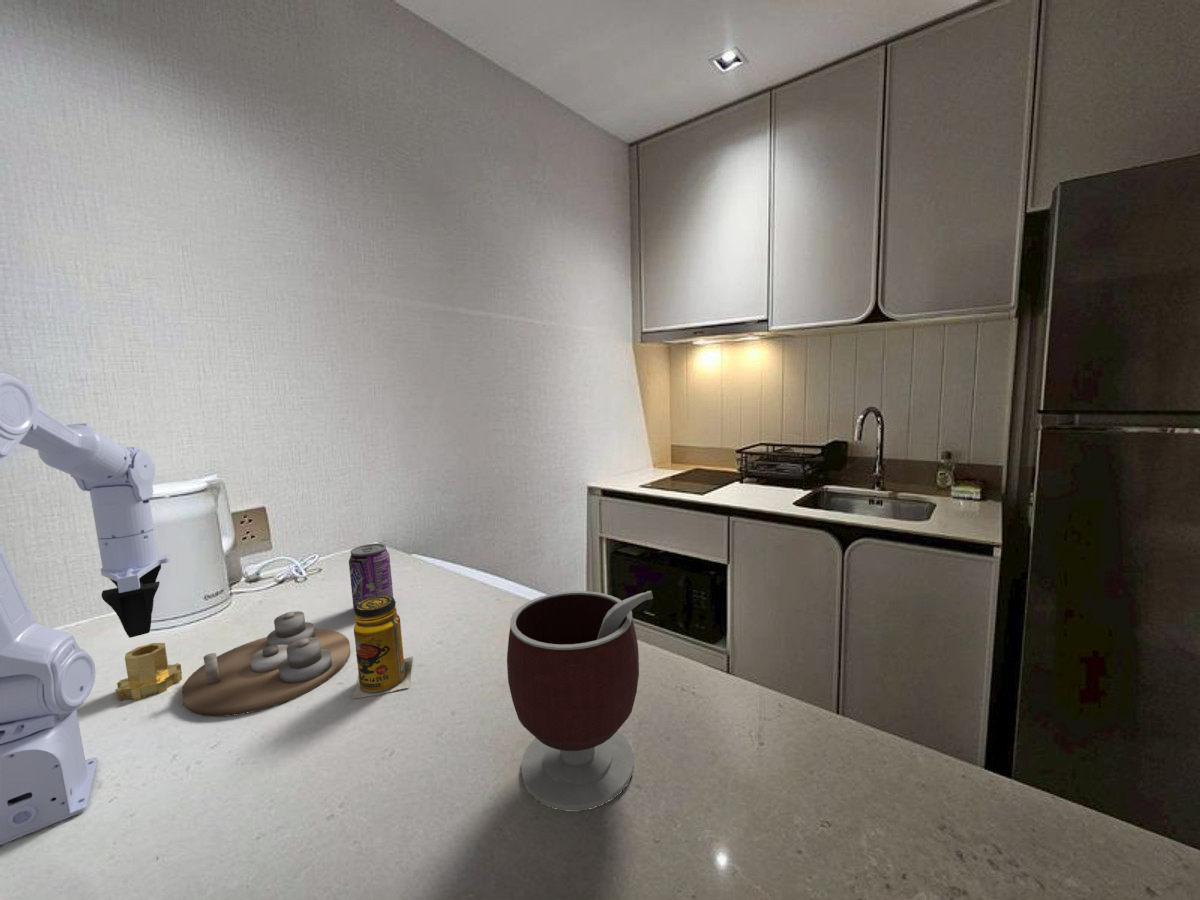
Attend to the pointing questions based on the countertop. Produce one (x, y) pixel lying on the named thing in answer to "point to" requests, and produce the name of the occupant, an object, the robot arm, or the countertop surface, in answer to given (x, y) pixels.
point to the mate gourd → (575, 694)
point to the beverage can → (370, 572)
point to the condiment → (379, 648)
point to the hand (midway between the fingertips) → (141, 625)
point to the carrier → (267, 669)
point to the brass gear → (147, 672)
